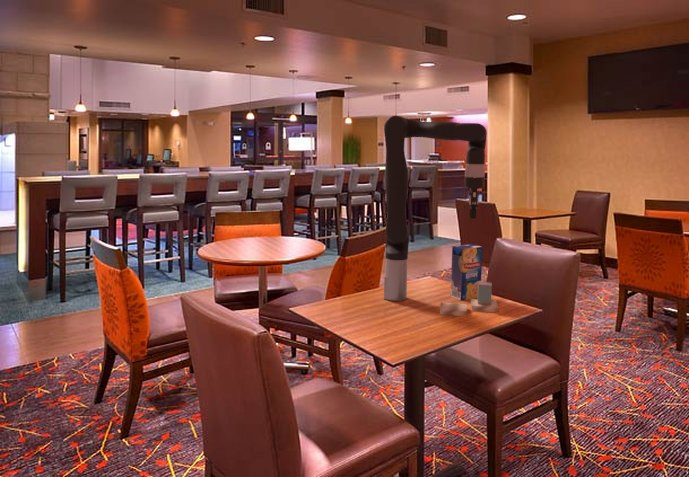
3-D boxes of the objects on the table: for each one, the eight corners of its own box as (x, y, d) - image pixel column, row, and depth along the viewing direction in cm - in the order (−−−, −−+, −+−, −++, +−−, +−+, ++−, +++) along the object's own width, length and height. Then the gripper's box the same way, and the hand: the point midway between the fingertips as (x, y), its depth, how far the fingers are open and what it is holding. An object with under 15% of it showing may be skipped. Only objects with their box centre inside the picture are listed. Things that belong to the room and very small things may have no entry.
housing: (477, 304, 217) (478, 284, 216) (477, 300, 222) (478, 281, 221) (490, 305, 216) (491, 285, 215) (490, 301, 221) (491, 282, 220)
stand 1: (439, 314, 210) (440, 309, 210) (440, 307, 220) (440, 302, 219) (466, 316, 208) (466, 311, 208) (466, 308, 218) (466, 303, 217)
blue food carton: (480, 297, 235) (482, 246, 231) (461, 300, 229) (463, 248, 226) (469, 293, 241) (471, 244, 237) (450, 296, 235) (452, 246, 232)
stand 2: (471, 310, 215) (471, 305, 215) (470, 303, 225) (470, 298, 225) (497, 312, 213) (498, 307, 213) (495, 305, 223) (496, 300, 223)
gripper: (464, 174, 221) (462, 214, 224) (465, 176, 207) (463, 219, 210) (483, 175, 220) (481, 215, 223) (485, 176, 206) (483, 219, 209)
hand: (472, 217), depth 216 cm, fingers open, 8 cm apart
